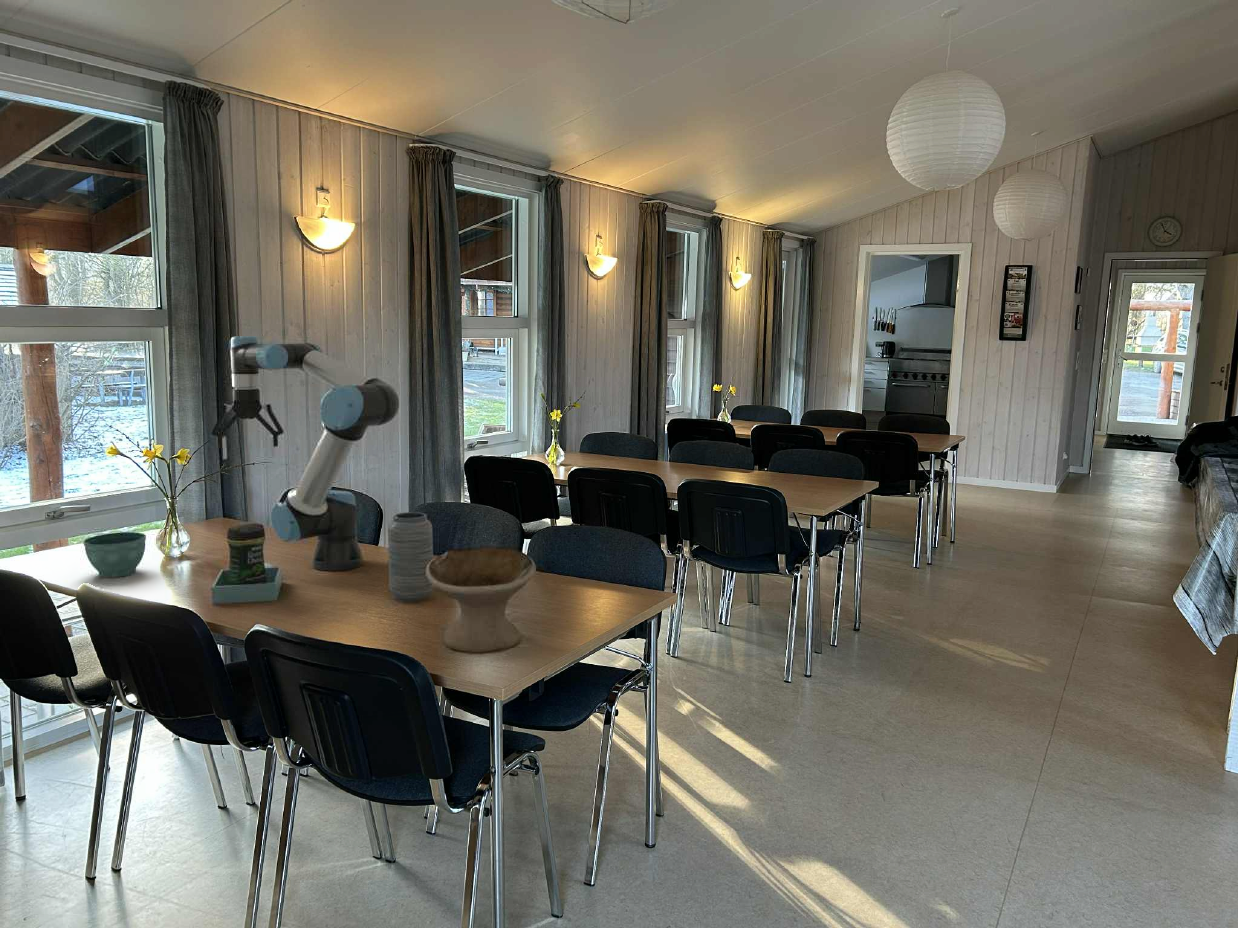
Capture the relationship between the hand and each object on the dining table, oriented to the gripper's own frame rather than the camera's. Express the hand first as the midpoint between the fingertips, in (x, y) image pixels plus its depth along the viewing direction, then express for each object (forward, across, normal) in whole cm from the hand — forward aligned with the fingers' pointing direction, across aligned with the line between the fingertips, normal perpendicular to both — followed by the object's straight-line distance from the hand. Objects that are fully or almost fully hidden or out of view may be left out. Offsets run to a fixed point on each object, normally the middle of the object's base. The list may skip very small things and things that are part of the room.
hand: (249, 458), depth 283 cm
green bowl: (+33, +37, +5) cm, 50 cm away
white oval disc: (+33, -3, +18) cm, 38 cm away
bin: (+33, -2, +34) cm, 47 cm away
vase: (+33, -45, +49) cm, 74 cm away
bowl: (+33, -59, +88) cm, 111 cm away
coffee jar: (+32, -2, +34) cm, 47 cm away
